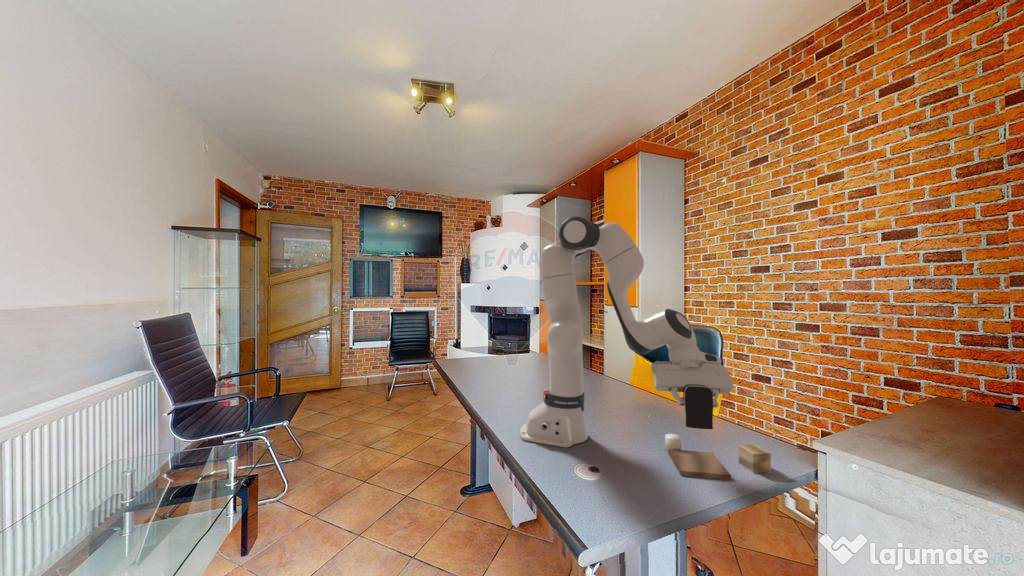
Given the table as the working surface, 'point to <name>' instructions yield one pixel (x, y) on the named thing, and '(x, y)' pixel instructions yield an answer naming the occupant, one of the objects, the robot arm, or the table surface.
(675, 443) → the plastic capsule
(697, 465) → the walnut pad
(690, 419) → the battery charger
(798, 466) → the table surface
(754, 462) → the oak cube
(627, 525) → the table surface
